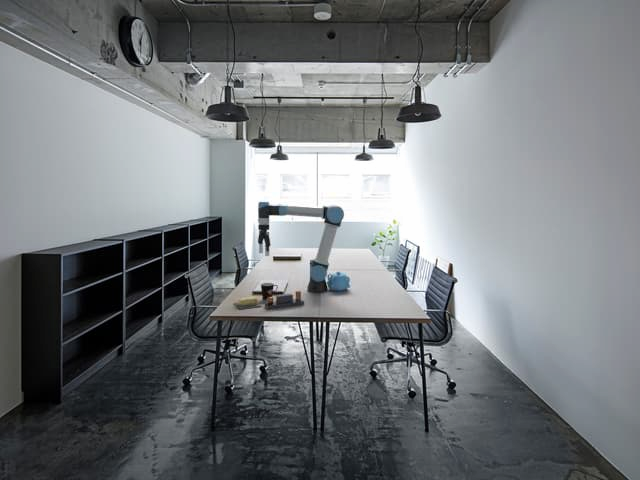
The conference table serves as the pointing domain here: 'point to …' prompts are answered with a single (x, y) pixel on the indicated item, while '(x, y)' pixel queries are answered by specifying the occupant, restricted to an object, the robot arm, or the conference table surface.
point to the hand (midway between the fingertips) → (264, 254)
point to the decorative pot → (338, 281)
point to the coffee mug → (267, 290)
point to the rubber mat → (247, 306)
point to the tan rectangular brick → (247, 301)
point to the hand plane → (284, 301)
